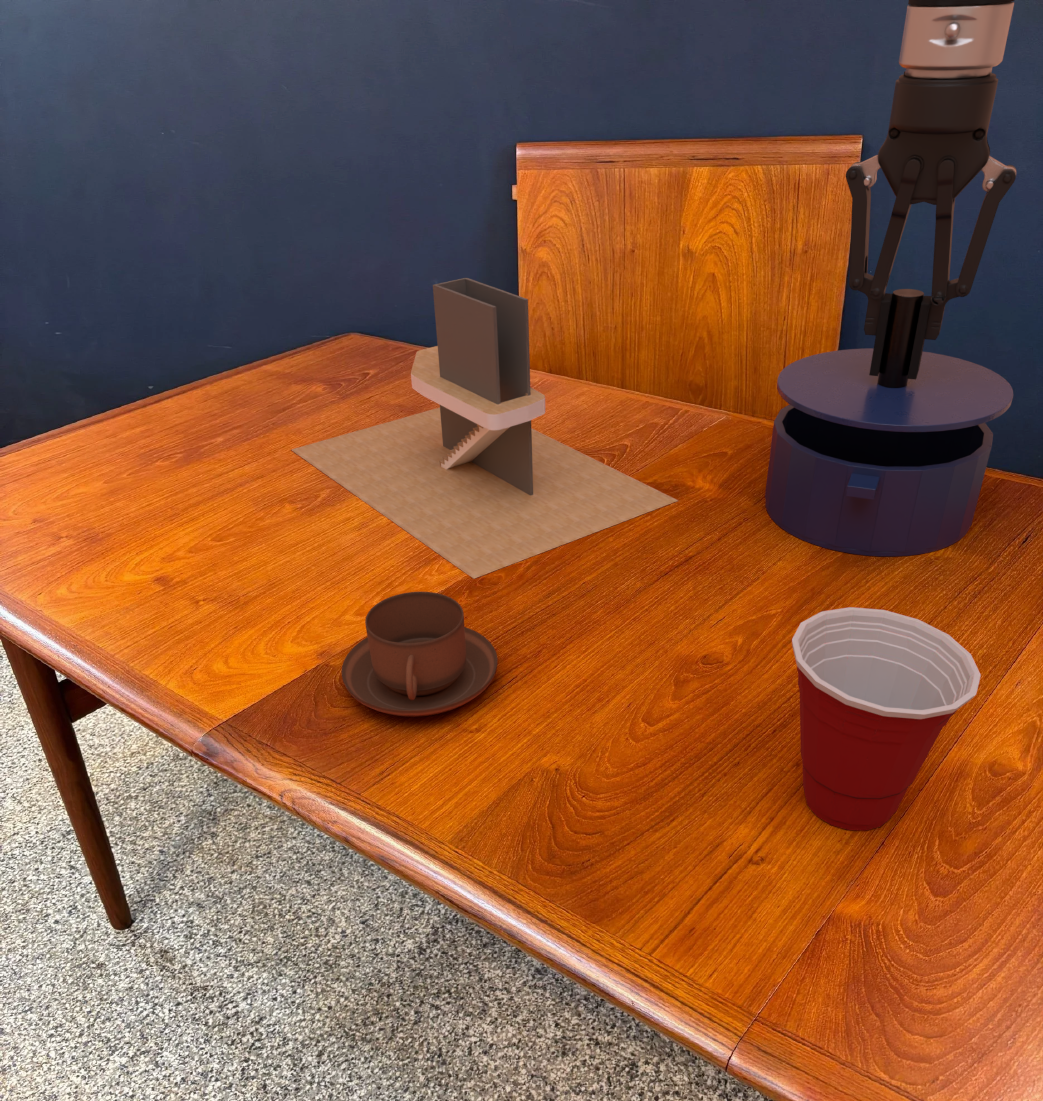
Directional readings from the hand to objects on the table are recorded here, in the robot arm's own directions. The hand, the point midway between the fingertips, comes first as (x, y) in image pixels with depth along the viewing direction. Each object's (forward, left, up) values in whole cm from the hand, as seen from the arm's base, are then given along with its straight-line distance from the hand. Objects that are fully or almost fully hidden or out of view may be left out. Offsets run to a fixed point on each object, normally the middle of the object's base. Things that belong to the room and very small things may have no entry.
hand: (894, 372), depth 92 cm
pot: (0, 0, -14) cm, 14 cm away
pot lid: (0, 0, -2) cm, 2 cm away
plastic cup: (-5, +44, -14) cm, 46 cm away
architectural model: (+41, +5, -14) cm, 44 cm away
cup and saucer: (+28, +42, -14) cm, 53 cm away
